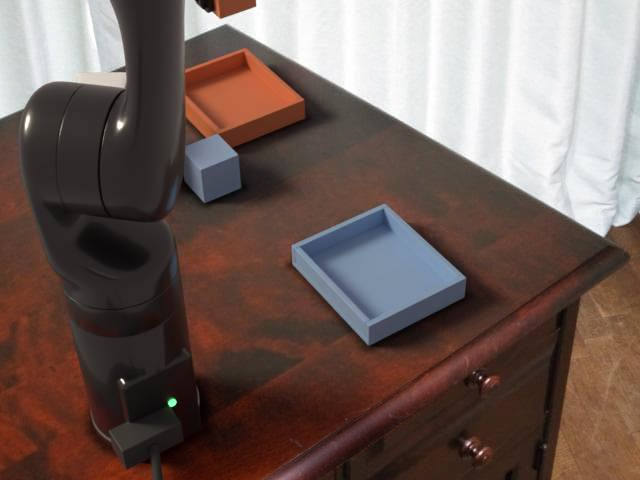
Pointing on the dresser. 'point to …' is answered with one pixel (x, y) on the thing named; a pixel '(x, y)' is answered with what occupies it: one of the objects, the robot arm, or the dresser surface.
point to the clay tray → (239, 98)
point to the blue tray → (378, 273)
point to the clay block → (231, 7)
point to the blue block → (211, 168)
